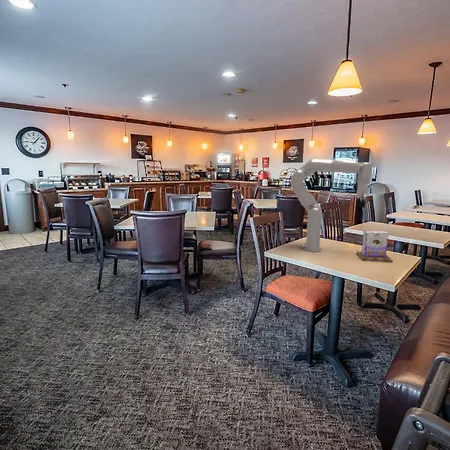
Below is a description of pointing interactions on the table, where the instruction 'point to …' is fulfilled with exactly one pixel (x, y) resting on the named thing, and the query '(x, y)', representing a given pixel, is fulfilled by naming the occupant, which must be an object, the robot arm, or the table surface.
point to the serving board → (374, 258)
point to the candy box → (374, 243)
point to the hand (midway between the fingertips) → (360, 206)
